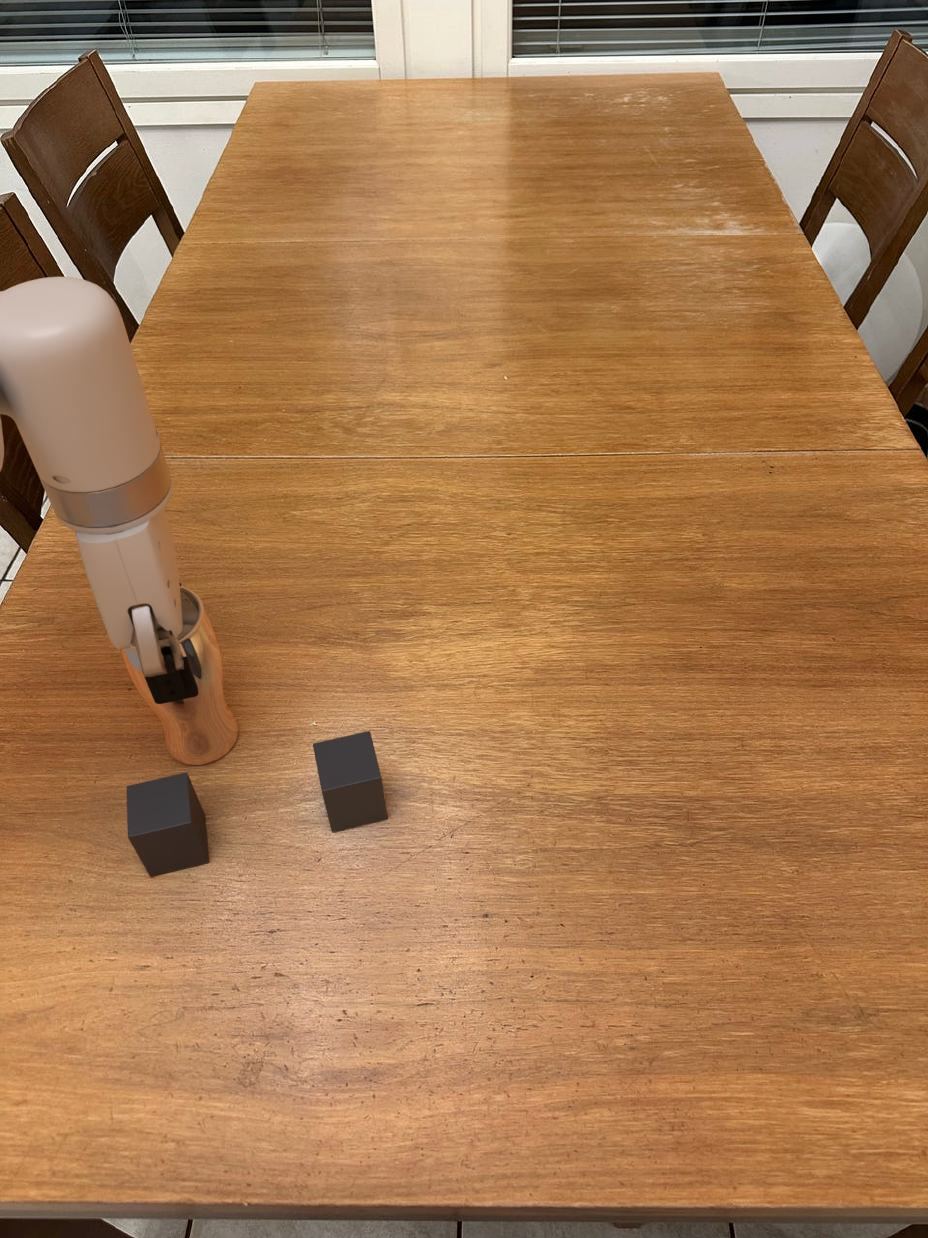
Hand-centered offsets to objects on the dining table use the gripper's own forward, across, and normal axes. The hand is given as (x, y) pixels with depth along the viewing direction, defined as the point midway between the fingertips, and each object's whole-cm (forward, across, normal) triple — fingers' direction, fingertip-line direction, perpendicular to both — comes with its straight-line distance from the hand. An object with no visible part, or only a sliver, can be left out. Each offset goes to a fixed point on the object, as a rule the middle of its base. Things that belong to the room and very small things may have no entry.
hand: (174, 658), depth 73 cm
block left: (+10, +10, -3) cm, 15 cm away
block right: (+10, +10, +11) cm, 18 cm away
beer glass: (+10, 0, 0) cm, 10 cm away
